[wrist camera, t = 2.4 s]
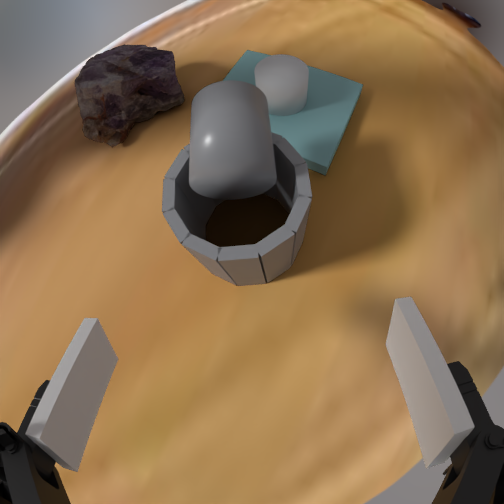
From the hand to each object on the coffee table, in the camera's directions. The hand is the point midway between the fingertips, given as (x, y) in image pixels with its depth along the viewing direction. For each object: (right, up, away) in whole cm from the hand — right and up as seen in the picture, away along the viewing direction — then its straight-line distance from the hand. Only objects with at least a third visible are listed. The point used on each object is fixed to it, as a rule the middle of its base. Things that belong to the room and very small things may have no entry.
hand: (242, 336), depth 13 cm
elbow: (0, +5, +15) cm, 16 cm away
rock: (-13, +20, +20) cm, 31 cm away
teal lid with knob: (+4, +19, +18) cm, 26 cm away
